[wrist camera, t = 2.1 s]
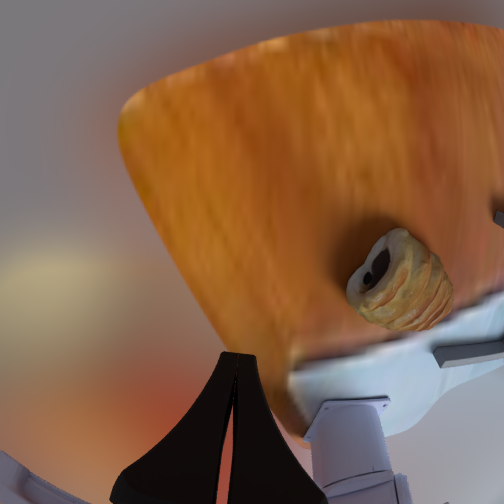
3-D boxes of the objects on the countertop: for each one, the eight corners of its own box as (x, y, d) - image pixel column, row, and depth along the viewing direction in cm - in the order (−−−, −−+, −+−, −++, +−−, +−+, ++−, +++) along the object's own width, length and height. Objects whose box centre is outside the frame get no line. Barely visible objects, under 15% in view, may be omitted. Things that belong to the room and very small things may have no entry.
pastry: (459, 274, 18) (483, 300, 15) (410, 332, 21) (425, 363, 18) (388, 215, 17) (414, 239, 13) (331, 292, 19) (342, 327, 16)
